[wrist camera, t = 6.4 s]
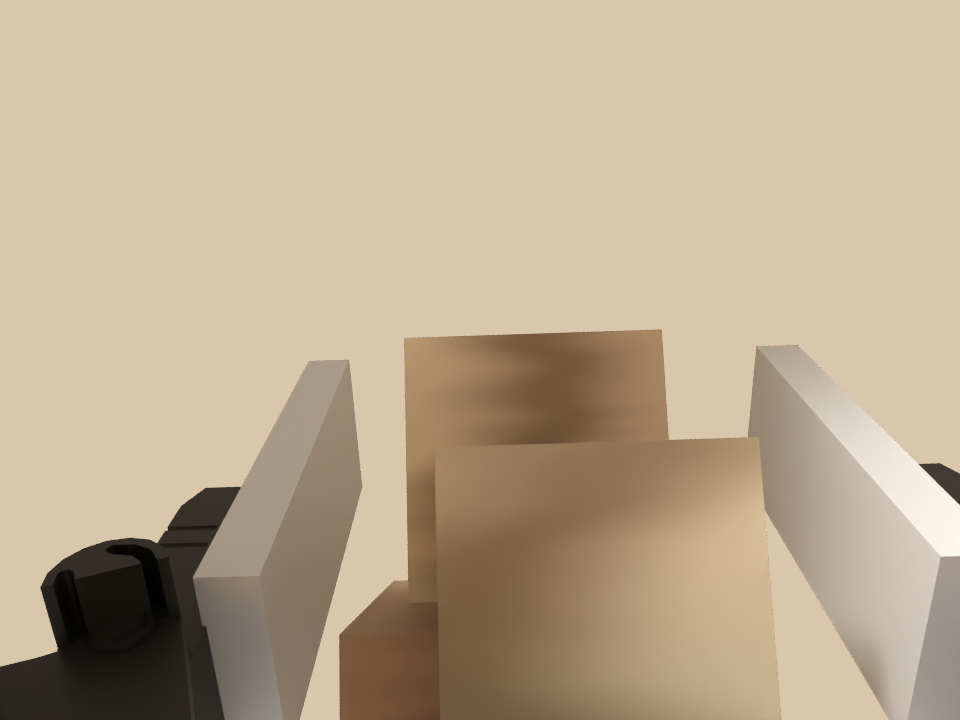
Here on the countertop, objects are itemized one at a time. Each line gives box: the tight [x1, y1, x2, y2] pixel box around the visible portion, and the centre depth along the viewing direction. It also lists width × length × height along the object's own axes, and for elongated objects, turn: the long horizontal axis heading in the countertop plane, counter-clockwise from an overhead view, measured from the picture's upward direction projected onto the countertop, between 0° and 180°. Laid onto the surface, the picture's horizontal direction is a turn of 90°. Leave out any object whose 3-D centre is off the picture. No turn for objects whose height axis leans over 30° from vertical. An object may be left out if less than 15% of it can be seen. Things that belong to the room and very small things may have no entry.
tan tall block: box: [404, 330, 781, 720], centre depth 18 cm, size 7×18×7 cm, turn 179°
